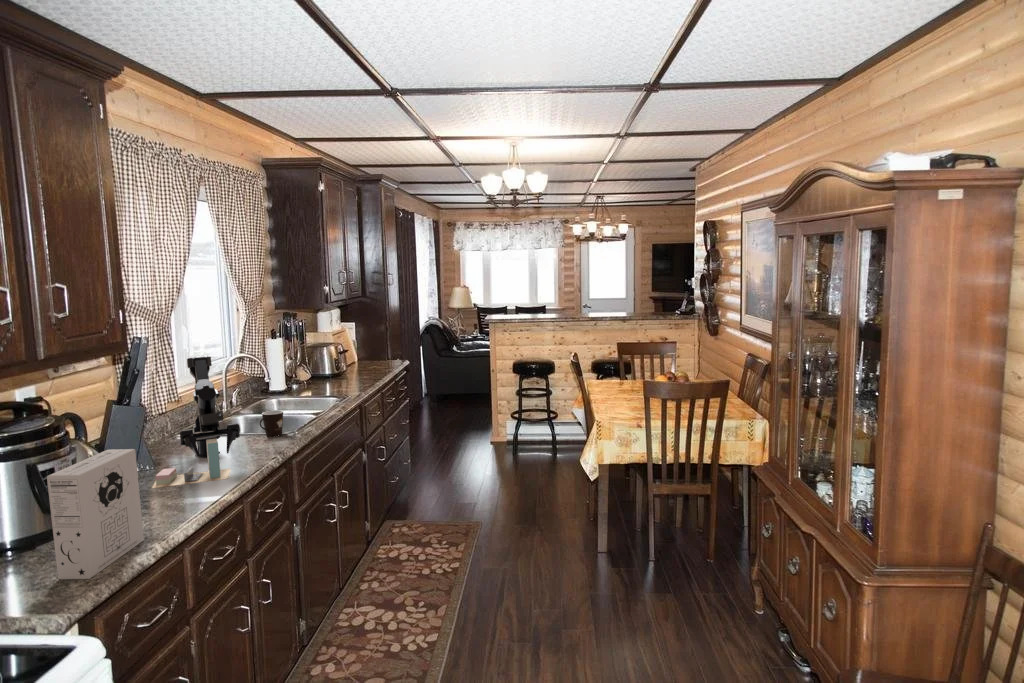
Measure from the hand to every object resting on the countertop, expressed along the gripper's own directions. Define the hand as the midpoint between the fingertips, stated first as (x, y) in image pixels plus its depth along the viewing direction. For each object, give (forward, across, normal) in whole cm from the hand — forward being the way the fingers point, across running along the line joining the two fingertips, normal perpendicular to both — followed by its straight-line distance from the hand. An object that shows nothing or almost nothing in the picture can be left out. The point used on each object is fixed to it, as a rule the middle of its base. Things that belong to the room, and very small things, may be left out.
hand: (213, 455), depth 221 cm
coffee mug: (-30, +26, +42) cm, 57 cm away
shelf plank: (+5, -7, +7) cm, 11 cm away
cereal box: (+44, -29, -31) cm, 61 cm away
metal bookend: (+5, -6, +6) cm, 10 cm away
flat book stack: (+3, -14, +8) cm, 17 cm away
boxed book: (+5, 0, +6) cm, 7 cm away
